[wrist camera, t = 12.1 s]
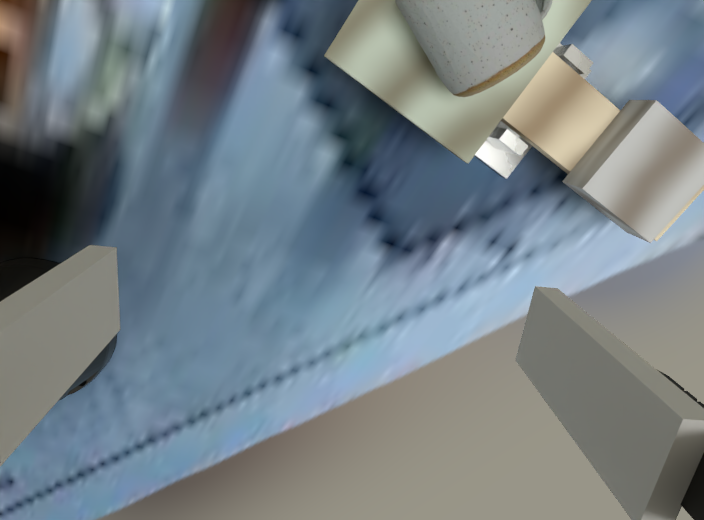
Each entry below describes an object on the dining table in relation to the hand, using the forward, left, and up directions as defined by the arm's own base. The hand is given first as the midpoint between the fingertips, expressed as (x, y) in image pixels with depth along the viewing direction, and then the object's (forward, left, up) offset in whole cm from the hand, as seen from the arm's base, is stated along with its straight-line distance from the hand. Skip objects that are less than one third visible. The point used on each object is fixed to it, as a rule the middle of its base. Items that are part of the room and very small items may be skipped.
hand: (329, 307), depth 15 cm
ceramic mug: (+9, +13, -24) cm, 29 cm away
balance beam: (+17, +8, -27) cm, 33 cm away
